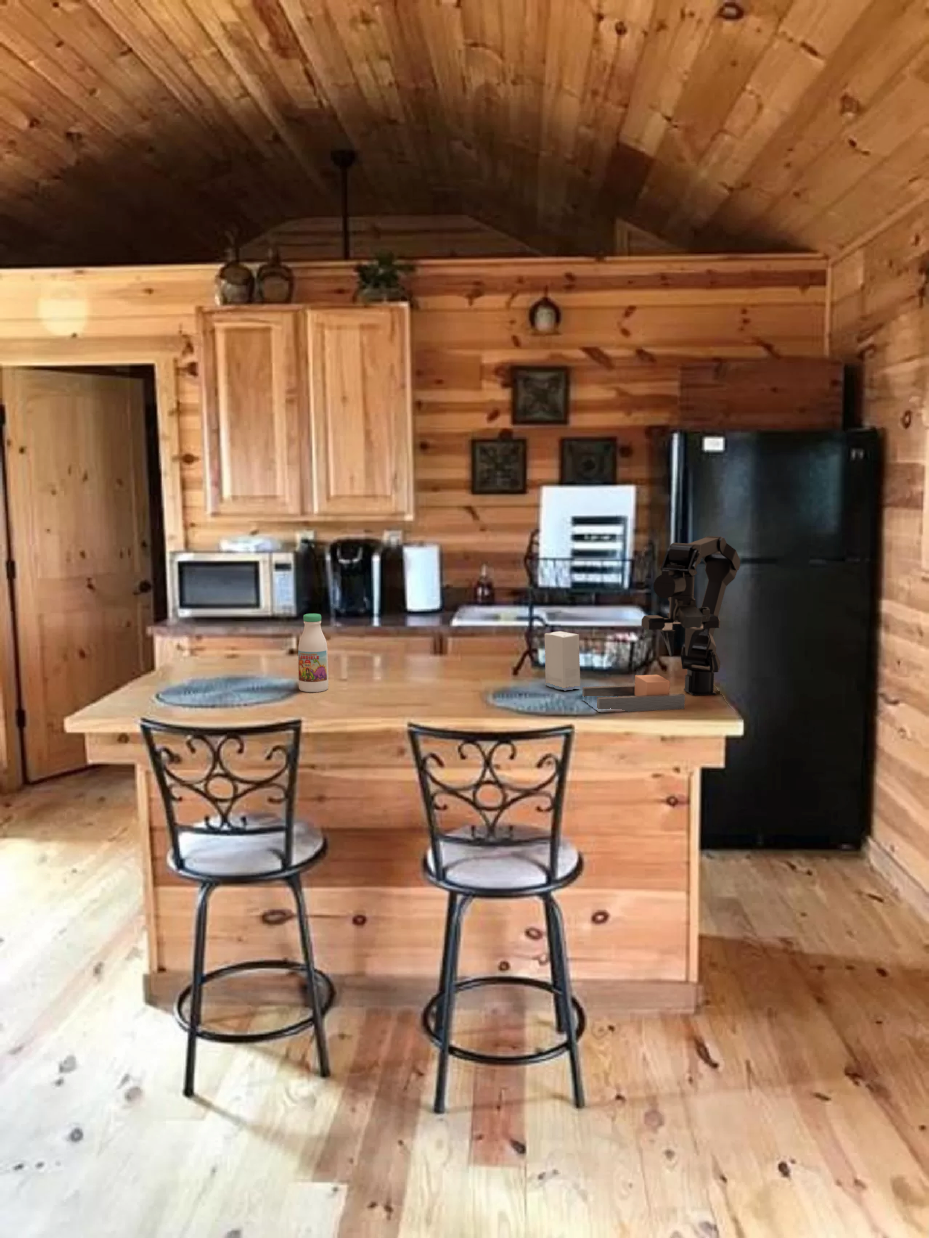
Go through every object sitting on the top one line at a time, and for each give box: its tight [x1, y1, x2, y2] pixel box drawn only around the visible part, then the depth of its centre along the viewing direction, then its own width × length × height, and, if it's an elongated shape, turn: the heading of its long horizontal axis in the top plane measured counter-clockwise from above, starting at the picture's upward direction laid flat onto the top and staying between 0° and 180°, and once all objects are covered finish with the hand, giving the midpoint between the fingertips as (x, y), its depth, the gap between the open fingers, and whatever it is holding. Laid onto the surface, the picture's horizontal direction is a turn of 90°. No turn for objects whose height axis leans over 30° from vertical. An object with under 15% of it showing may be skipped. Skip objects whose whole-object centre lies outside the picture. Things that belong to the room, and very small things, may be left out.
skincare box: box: [544, 631, 581, 688], centre depth 276 cm, size 8×6×15 cm
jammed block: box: [634, 674, 671, 696], centre depth 259 cm, size 6×8×5 cm
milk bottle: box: [297, 613, 329, 693], centre depth 272 cm, size 8×8×20 cm
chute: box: [581, 684, 686, 713], centre depth 259 cm, size 22×13×4 cm, turn 102°
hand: (679, 655), depth 259 cm, fingers open, 4 cm apart
